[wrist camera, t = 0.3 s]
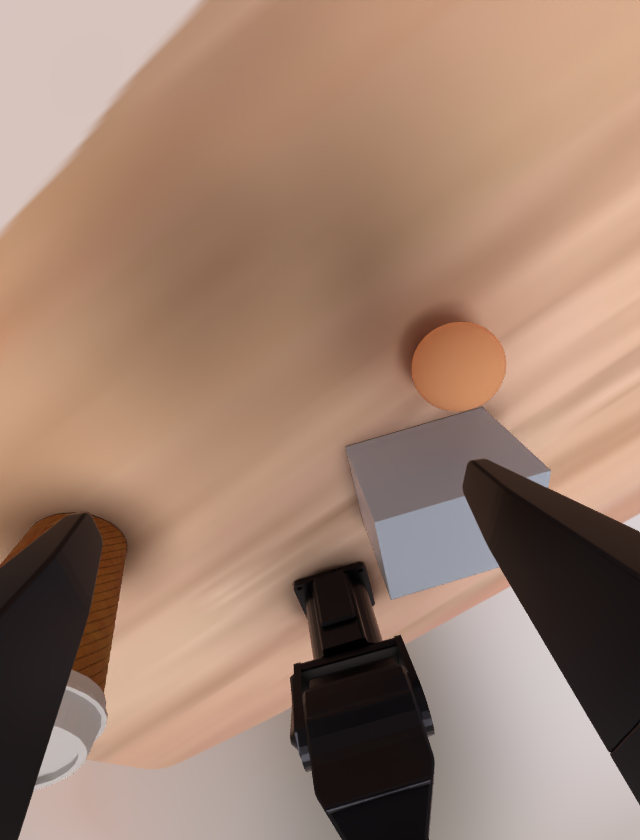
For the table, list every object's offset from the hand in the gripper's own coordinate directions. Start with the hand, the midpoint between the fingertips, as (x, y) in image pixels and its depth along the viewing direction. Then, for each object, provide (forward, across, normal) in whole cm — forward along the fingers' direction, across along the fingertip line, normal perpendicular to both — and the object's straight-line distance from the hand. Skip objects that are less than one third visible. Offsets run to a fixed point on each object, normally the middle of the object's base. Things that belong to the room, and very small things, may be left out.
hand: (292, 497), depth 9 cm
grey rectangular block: (+14, -10, +12) cm, 21 cm away
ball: (+11, -10, +2) cm, 16 cm away
